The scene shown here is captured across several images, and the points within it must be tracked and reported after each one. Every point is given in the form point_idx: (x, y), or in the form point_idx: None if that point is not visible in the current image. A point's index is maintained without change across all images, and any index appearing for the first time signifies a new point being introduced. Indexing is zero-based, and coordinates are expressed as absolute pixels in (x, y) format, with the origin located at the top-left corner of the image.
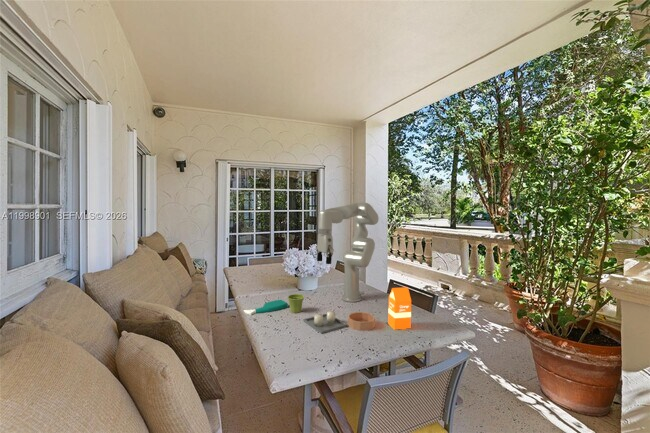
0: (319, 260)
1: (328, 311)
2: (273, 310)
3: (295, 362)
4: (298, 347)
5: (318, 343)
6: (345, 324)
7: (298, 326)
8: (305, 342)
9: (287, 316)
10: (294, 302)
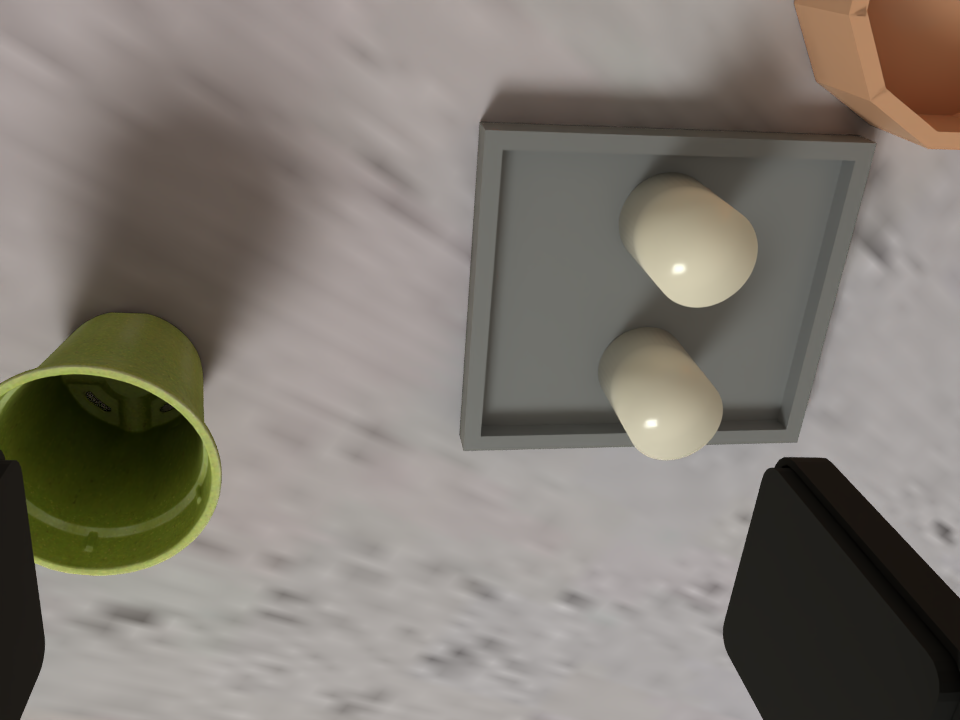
0: (26, 601)
1: (657, 262)
2: None
3: None
4: None
5: None
6: (861, 163)
7: (519, 507)
8: None
9: (235, 499)
10: (186, 498)
